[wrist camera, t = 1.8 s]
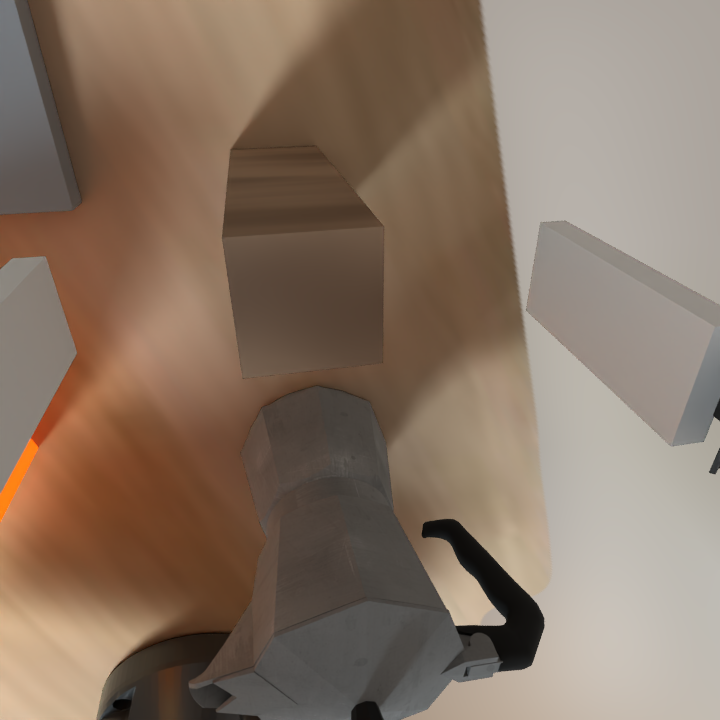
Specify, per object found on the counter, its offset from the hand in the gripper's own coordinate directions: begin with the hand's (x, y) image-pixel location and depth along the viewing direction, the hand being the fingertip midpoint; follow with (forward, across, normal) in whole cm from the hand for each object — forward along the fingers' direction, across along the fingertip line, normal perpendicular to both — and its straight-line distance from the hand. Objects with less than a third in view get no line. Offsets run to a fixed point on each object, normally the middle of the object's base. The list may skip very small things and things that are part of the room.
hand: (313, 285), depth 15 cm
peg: (+13, 0, 0) cm, 13 cm away
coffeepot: (+13, -2, +16) cm, 21 cm away
